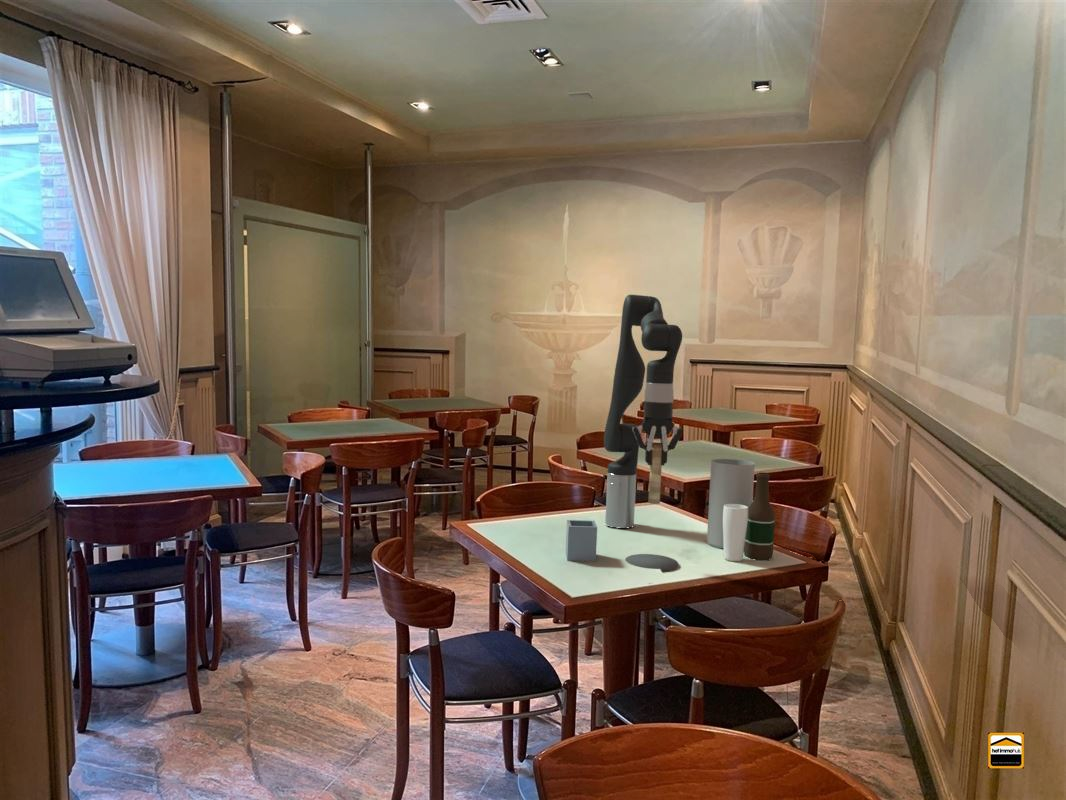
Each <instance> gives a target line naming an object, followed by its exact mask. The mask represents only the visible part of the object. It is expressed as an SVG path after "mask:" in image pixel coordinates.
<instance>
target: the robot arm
mask: <svg viewBox="0 0 1066 800" xmlns="http://www.w3.org/2000/svg"><path fill="white" fill-rule="evenodd" d="M661 304H662V303H661V302H660V300H659V298H657V297H655V296H652V295H651V296H650V295H639V294H628V295H626V297H625V298H624V302H623V304H622V305H623V306H622V312H621V324H620V335H619V336H620V338H619V345H618V351H617V352H618V353H617V357H616V363H615V368H614V376H613V384H612V393H611V399H610V400H611V401H610V407H609V410H608V415H607V420H606V423H605V428H604V433H603V446H604V449H605V450H606V451H607V452H609V453H624V454H623V455H622V456H621V457H620V458H618V459H617V460H614V461H612V462H609V463H608V465H607V473H606V474H607V476H606V477H607V479H606V496H605V497H606V499H605V501H606V503H605V520H604V521H605V522H604V523H606V524H607V525H609V526H612V527H620V528H627V527H632V526H634V527H635V508H636V507H635V505H636V490H637V489H636V485H637V468H638V461H639V459H638V458H639V449H642V450H644V451H645V453H644V454H645V456H644V457H645V459H644V460H645V463H647V465H648V466H650V465H651V459H652V451H651V447H652V443H654V439H659V440H660V443H662V444H663V448H662V466H665V464H667V462H668V452H669V451H671V450H674V449H675V448H676V446H677V444H678V442H679V440H680V439H681V436H682V434H683V432H684V430H683V429H682V428H680V427H677V426H676V425H675V424H674V422H673V410H674V400H675V399H674V397H675V396H674V372H675V364H676V361H677V360H676V359H677V356H678V353H679V350H680V348H681V344H682V340H683V332H682V330H681V328H680V327H679V326H678V325H677V324H669V323H668V321H667V320H666V319H665V318H664V312H663V308H662V305H661ZM633 326H635V327H640V329H641V345H642V347H643V348H644V349H645V350H647V351H650V352H666V353H665V356H663V357H662V358H659V359H653V360H650V361H649V362H647V365H645V361H644V359H643V358H642V355H641V353H640V352H639V350H638V348H637V346H636V342H635V341H634V337H633V332H632V330H633ZM645 375H646V378H645ZM645 379H646V380H645ZM644 381H645V389H644V397H643V398H644V404H643V419H642V421H641V423H640V424H639V425H637V424H635V423H621V420H622V418H623V415H624V414H625V412H626V410H627V409H628V408H629V406H631V404H632V403H633V402H634V401H635V400H636V399H637V397H638V396H639V394H640V393H641V392H642V389H643V386H644ZM642 430H644V432H645V434H646V435H647V436H646V441H645V443H644V441H643V438H642V435H641V434H642ZM671 432H672V434H673V435H672V438H671V440H670V442H669V443H668V436H669V434H670V433H671ZM632 528H633V527H632Z"/></svg>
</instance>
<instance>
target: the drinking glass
mask: <svg viewBox="0 0 1066 800" xmlns="http://www.w3.org/2000/svg"><path fill="white" fill-rule="evenodd" d="M747 524H748V507H747V506H744V505H739V504H725V505H724V508H723V547H724V549H723V558H724V560H725V561H728V560H729V562H735V561H737V562H741V561H743V559H744V545H745V538H746V531H747Z"/></svg>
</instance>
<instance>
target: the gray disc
mask: <svg viewBox="0 0 1066 800" xmlns="http://www.w3.org/2000/svg"><path fill="white" fill-rule="evenodd" d="M625 562H626V563H627V564H629V565H632V566H635V567H638V568H644V569H650V570H651V569H652V570H660V571H661V572H662V571H666V572H670V571H669V570H672V571H674V570H673V569H675V570H677V569H678V568H679V562H678V561H677V560H676V559H674V558H671V557H669V556H665V555H661V554H654V553H651V554H650V553H639V554H638V553H637V554H631V555H629V556H627V557H625ZM677 567H678V568H677ZM676 568H677V569H676Z"/></svg>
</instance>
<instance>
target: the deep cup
mask: <svg viewBox="0 0 1066 800" xmlns="http://www.w3.org/2000/svg"><path fill="white" fill-rule="evenodd" d="M595 521H596V520H584V519H583V520H580V519H566V529H565V530H566V531H565V532H566V535H565V557H566V560H567V562H597V543H598V542H597V540H598V539H597V538H598V526H597V524H596V522H595Z"/></svg>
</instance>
